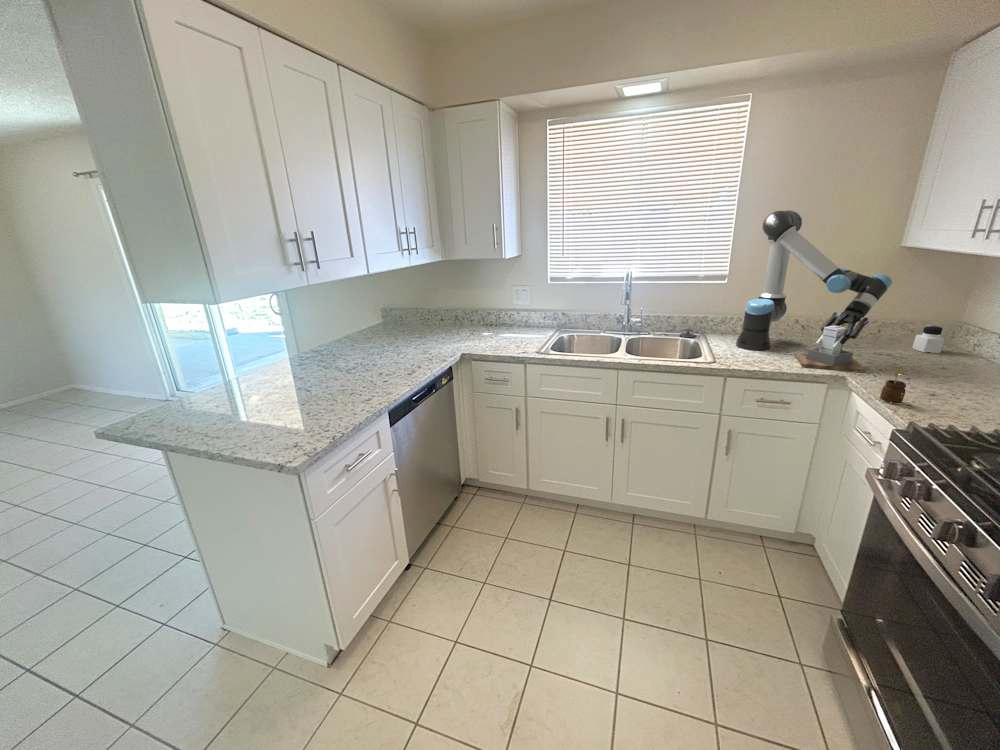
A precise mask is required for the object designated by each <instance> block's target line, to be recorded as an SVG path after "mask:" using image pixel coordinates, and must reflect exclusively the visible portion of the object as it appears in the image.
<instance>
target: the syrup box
mask: <svg viewBox="0 0 1000 750" xmlns="http://www.w3.org/2000/svg"><path fill="white" fill-rule="evenodd" d="M847 328H848V327H844V326H842V325H840V326H829V327H824V332H823V336H822V340H821V345H820V350H819V351H820V352H824V353H828V354H832V355H837V354H841V352H842V350H843V346H844V344H841V346H840V347H839V348H838V349H837V350H836V351H835V350H834V349H833V347H832V346H833V345H834V344H835V343H836V342H837V341H838V339H839V338H840V337H841V336H842V335H844V336H845V333H846V330H847Z"/></svg>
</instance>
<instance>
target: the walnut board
mask: <svg viewBox="0 0 1000 750" xmlns="http://www.w3.org/2000/svg"><path fill="white" fill-rule="evenodd" d="M806 355H807V353H802V352H801V353H799V352H794V353H793V357H794V356H795V357H794V358H795V359H797V360H798V361H797V360H796V361H797V363H798V362H799V363H800V364H799V363H798V364H799V366H800V365H801V366H803V367H802V368H809V367H812V368H811V369H820V368H822V370H831V369H835V370H834V371H842V370H845V371H844V372H853V371H858V372H857V373H865V371H866V368H865V367H864V366H863V365H862V364H860V363H859V361H857V360H856V359H855V358H854V357H853V356H852V359H851V362H850V363H845V364H840V365H835V366H831V365H827V364H823V363H820V362H816V361H813V360H809V359H806ZM801 366H800V367H801Z"/></svg>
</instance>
